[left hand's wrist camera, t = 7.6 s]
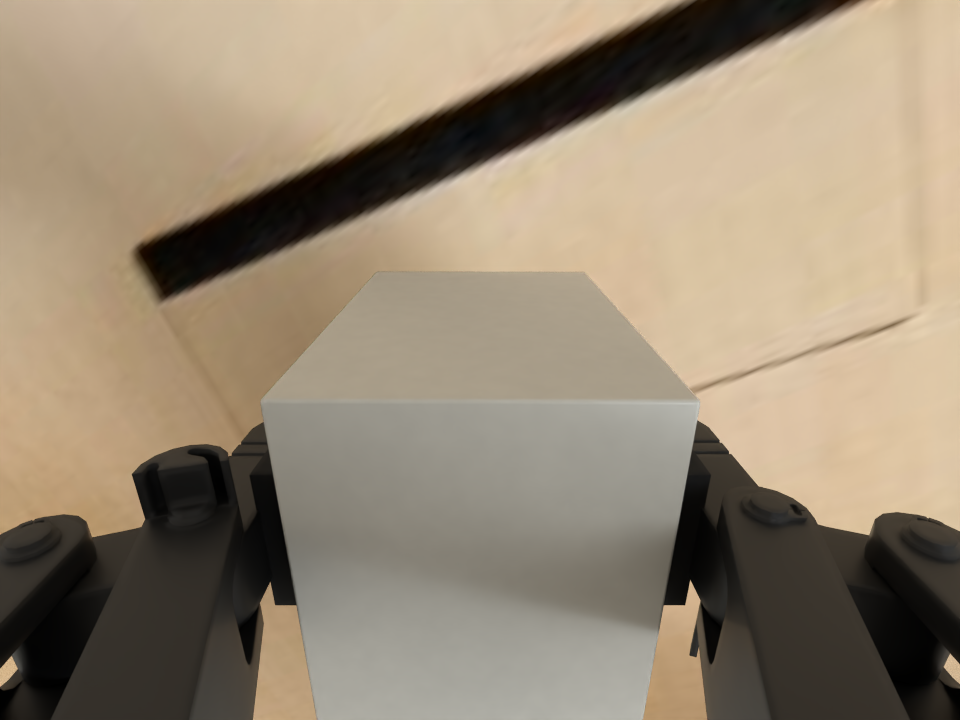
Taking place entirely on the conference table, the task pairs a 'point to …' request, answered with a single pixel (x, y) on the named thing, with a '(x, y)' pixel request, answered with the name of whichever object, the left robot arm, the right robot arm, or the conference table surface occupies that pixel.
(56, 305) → the conference table surface
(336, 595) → the bar
